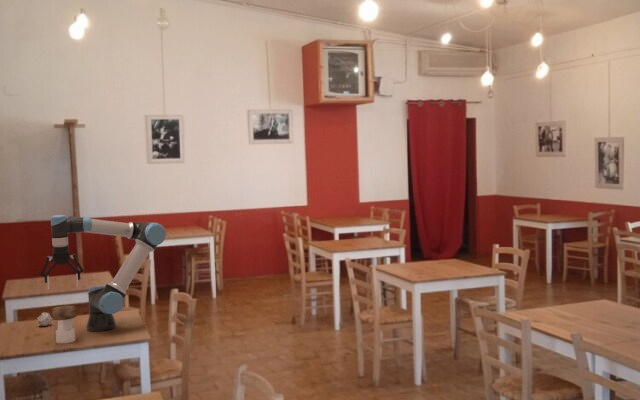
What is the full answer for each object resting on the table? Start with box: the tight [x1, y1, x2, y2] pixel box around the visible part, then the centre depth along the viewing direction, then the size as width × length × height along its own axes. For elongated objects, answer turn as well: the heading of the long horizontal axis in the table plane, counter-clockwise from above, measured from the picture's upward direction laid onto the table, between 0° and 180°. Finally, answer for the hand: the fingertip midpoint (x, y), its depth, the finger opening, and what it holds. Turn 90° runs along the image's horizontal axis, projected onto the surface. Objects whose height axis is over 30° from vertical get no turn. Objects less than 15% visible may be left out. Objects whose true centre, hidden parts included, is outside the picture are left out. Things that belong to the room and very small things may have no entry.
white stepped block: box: [55, 318, 76, 344], centre depth 339 cm, size 9×9×12 cm
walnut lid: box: [51, 305, 77, 321], centre depth 339 cm, size 11×11×5 cm
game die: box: [35, 311, 53, 328], centre depth 375 cm, size 9×8×10 cm
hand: (63, 287), depth 340 cm, fingers open, 13 cm apart
